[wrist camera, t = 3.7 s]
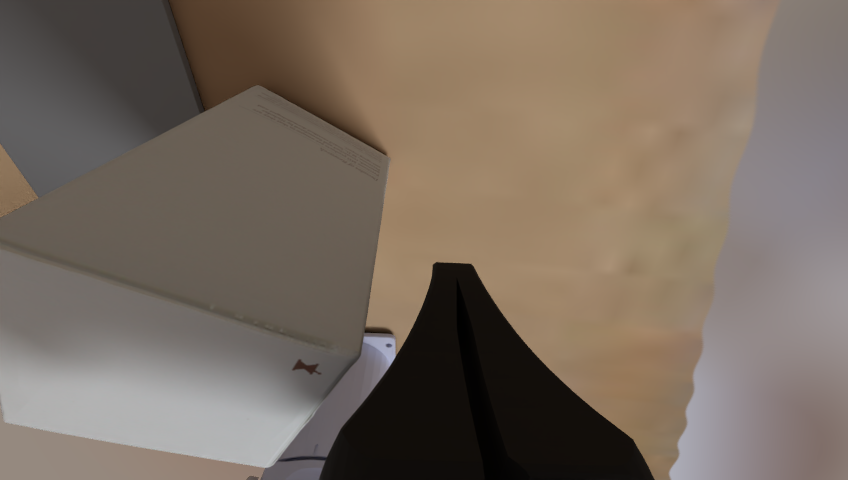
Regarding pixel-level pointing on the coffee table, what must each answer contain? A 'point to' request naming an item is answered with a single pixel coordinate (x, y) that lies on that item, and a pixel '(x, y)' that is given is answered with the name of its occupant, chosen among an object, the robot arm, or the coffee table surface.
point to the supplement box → (194, 285)
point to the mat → (88, 83)
